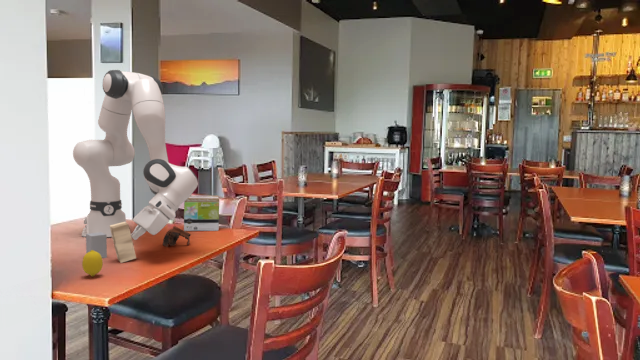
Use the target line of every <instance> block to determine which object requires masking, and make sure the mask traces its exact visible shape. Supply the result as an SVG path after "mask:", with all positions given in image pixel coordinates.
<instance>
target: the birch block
mask: <svg viewBox="0 0 640 360" xmlns="http://www.w3.org/2000/svg"><path fill="white" fill-rule="evenodd" d="M110 230H111V234H112V237H111V238H112V241H113V246H114V250H115V254H116V258H117V259H116V260H118V262H120V264H123V263H126V262H129V261H132V260H135V259H137V255H136V251H135V247H134V242H133V238H132V237H131V234H132V233H131V228H130V225H129V223H128V222H127V221H126V222H121V223H117V224H114V225H110Z"/></svg>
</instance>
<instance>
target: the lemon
mask: <svg viewBox="0 0 640 360" xmlns="http://www.w3.org/2000/svg"><path fill="white" fill-rule="evenodd" d="M103 263H104V262H103V258H102V257H101V255H100V254H99V253H98V252H96V251H94V250H91V251H90V252H88V253H86V252H85V254H84V256H83V258H82V264H81V265H82V269H83V272H84V274H85V273H86V274H87V275H89V276H90V277H92V278H93V277H95V275H97V274H99V273H100V272H101V271H102V268H103Z"/></svg>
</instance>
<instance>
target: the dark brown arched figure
mask: <svg viewBox="0 0 640 360" xmlns="http://www.w3.org/2000/svg"><path fill="white" fill-rule="evenodd" d="M191 235H192V234H191V233H190V232H188V231H184V229H182V228H179V227H178V226H175V225H174V226H173V227H172V228H171V229H168V230H167V232H166V233H165V234H164V237H163V242H162V245H163V247H166V248H168V247H169V245H170V246H173V247H174V246H176V244H177V242H178V240H179V239H180V237H182V238H185V240H187V242H186V245H187V246H189V245H190V242H191V239H190V237H191Z"/></svg>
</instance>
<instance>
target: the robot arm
mask: <svg viewBox="0 0 640 360" xmlns="http://www.w3.org/2000/svg"><path fill="white" fill-rule="evenodd" d="M102 90H103V92H104V94H105V95H104V98H103V101H102V105H101V108H100V113H99V116H98V120H97V125H98V126H99V128H100V129H101V130H102V131H103V132H105V137H104V139H88V140H82V141H79V142H77V143H76V144H75V146H74V147H73V150H72V155H73V159H74V161H75V163H76V164H77V165H78V166H79V167H81V168H82V169H83V170H84V172H85V173H86V175H87V177H88V180H89V184H90V198H91V199H90V201H89V213H88V214H87V216H86V217H84V218H83V225H85V226H84V227H83V228H82V231H81V237H85V238H86V234H89V233H98V232H102V233H104V234H106V237H107V238H112V234H111V230H110V225H114V224H117V223H121V222H126V223H127V219H126V218H127V217H126V213H125V212H124V211H123V210H122V208H123V207H122V205H123V203H122V200H121V183H120V180H119V179H118V178H116V177H115V176H113V175H112V174H111V172H110V168H109V167H120V166H125V165H127V164H131V163H132V162H133V160H134V159H135V155H136V151H135V147H134V146H133V144H132V143H131V142H130V141H129V138H128V127H129V123H130V119H131V116H132V115H133V117H134V121H135V123H136V126H137V128H138V130H139V132H140V134H141V136H142V138H143V140H144V141H145V143H146V146H147V149H148V154H149V159H150V160H149V161H147V163H146V164H145V166H144V167H143V170H142V171H143V173H142V174H143V177H144V179H145V182H146V183H147V185H148V186H149V190H150V191H151V193H152V194H154V196H153V197H152V198H151V199H150V200H149V201H148V204H149V205H146V206H144V207H143V208H142V209H141V210H140V211H139V212H138V213H137V214H136V215H135V216H134V217H133V219H132V222H134V223H135V224H136V226H135V228H134V230H133V231H132V233H131V238H132V240H135V241H136V240H138V239H139V237H142V236H143V235H145V233H146V232H148V233H149V234H150V235H152V236H156V235H157V234H158V233H159V232H160V231H162V229H164V227H166V226H167V224H169V222H170V221H173V220H175V218H176V212H177V210H178V209H179V208H180V206H181V205H182V203H184V201H186V200H187V199H188V198H189V196H190V195H192V194H193V193H194V192H195V191H196V190H197V188H198V186H199V180H198V177H197V175H196V173H195V172H194V171H193V170H192V169H191V168H189V167H188V166H180V165H175V164H173V163H170V162H169V157H168V152H167V145H166V110H165V104H164V99H163V90H164V89H163V85H162V82H161V80H160V79H159V78H157V77H154V76H152V75H147V74H143V73H139V72H134V71H133V72H132V71H125V70H124V71H123V70H122V71H121V70H119V69H112V70H111V69H109V70H108V71H107V72H106V73H105V74H104V76H103V79H102ZM132 113H133V114H132Z"/></svg>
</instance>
